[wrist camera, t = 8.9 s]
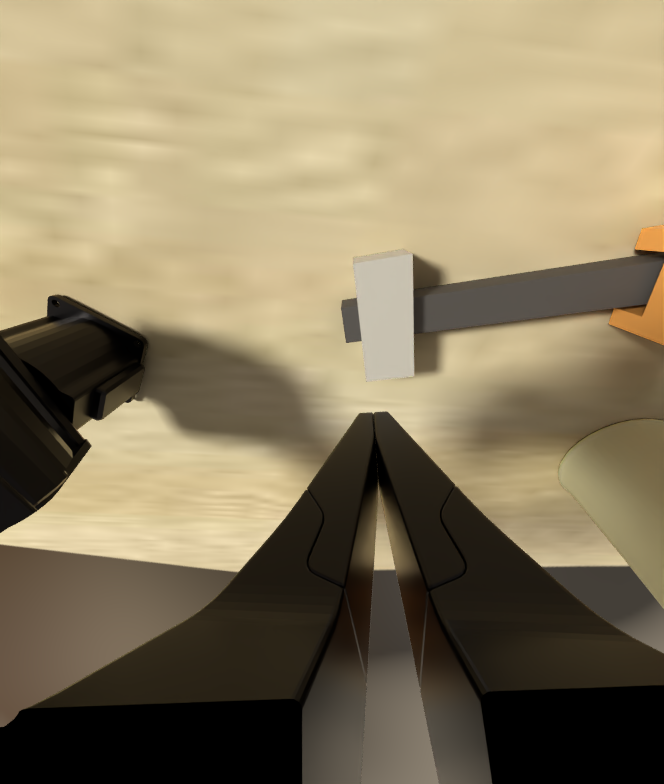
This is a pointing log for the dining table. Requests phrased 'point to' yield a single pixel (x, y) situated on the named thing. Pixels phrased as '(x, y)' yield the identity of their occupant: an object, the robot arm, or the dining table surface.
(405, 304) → the toy mallet
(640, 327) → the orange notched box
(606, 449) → the can
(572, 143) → the dining table surface
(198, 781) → the robot arm
